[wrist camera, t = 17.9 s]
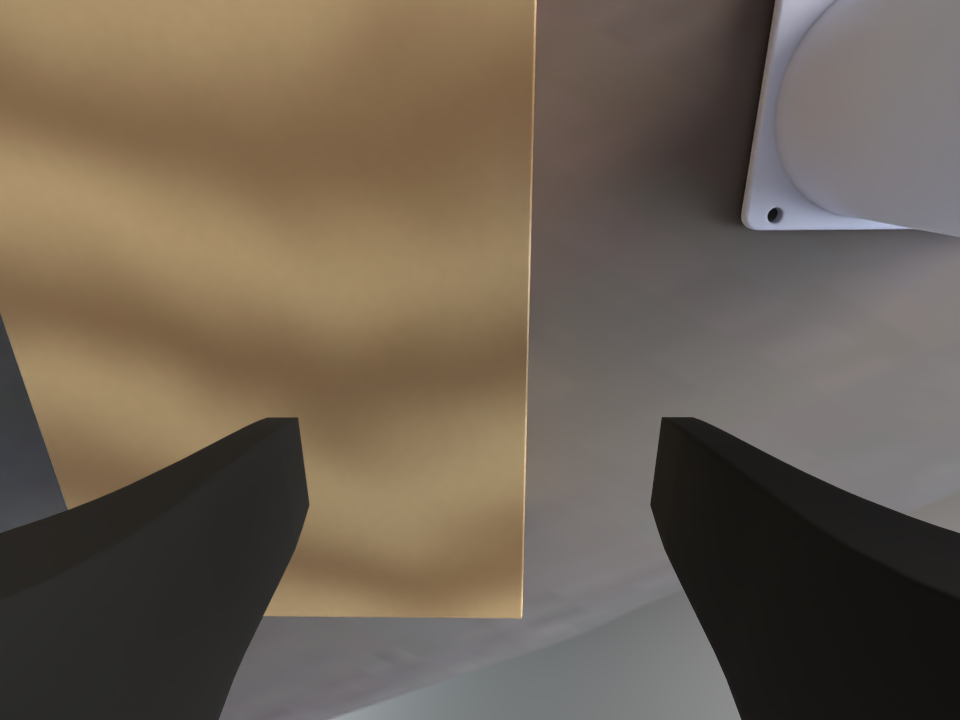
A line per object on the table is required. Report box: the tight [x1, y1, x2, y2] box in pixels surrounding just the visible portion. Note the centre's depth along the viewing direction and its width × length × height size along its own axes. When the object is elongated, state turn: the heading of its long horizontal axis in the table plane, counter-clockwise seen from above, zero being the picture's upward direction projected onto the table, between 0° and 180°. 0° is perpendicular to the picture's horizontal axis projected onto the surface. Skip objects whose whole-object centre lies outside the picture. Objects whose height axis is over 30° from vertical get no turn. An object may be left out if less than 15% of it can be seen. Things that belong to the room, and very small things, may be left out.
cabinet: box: [0, 0, 537, 618], centre depth 17 cm, size 19×14×7 cm
